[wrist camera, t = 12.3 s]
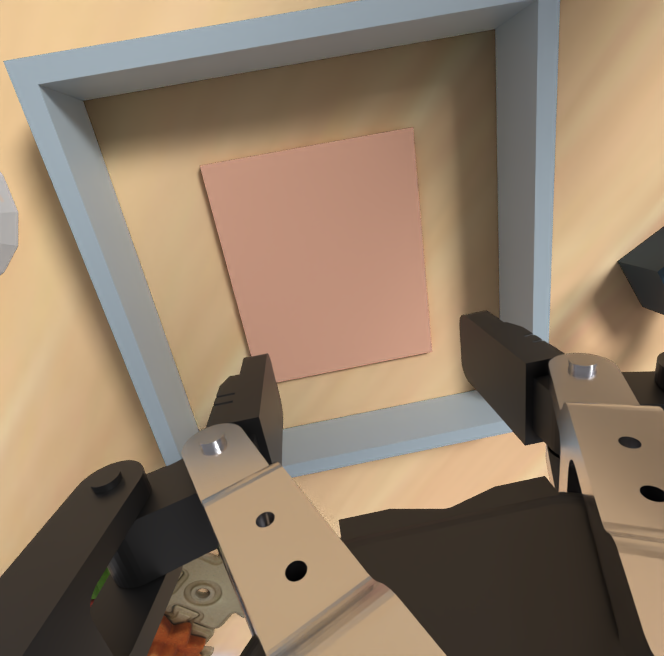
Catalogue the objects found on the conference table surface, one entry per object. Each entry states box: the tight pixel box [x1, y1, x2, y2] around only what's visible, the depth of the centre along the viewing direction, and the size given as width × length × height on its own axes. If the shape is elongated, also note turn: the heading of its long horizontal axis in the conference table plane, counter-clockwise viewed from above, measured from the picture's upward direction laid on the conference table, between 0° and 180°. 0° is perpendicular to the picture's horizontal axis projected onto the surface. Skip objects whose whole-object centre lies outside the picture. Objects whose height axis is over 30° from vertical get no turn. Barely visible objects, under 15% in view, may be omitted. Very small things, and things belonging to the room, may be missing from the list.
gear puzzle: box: [90, 553, 245, 656], centre depth 32 cm, size 31×16×4 cm, turn 142°
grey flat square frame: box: [3, 0, 560, 478], centre depth 23 cm, size 24×24×4 cm
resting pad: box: [200, 127, 432, 383], centre depth 25 cm, size 14×12×1 cm
